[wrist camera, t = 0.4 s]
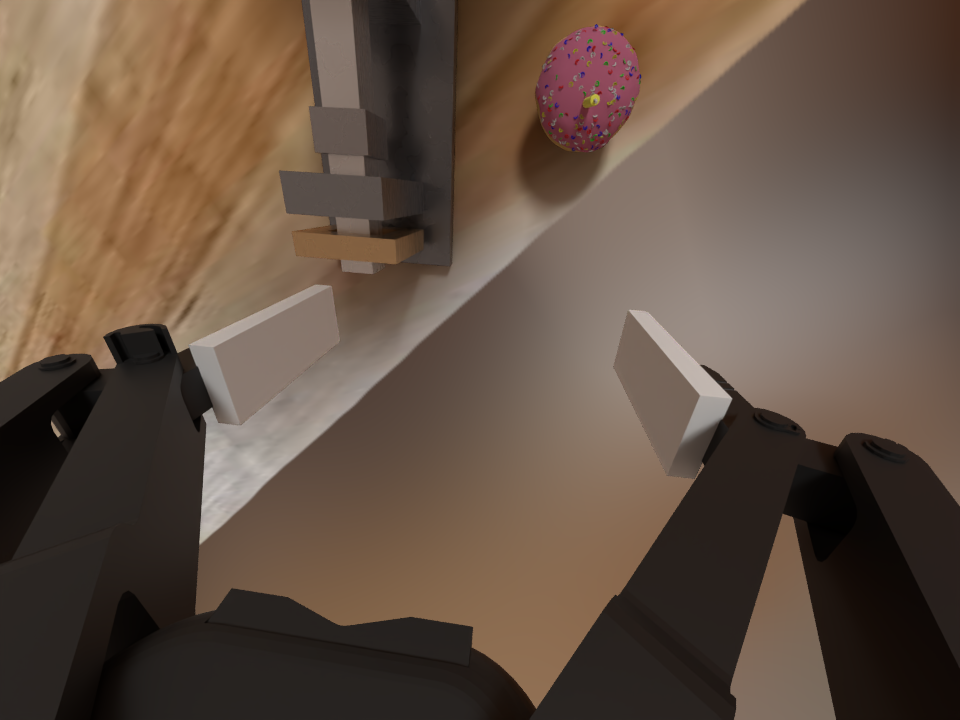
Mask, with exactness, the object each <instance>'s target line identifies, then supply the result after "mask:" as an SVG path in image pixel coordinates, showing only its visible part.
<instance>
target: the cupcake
mask: <svg viewBox="0 0 960 720" xmlns="http://www.w3.org/2000/svg"><path fill="white" fill-rule="evenodd" d="M622 35H623V33H621V34H620V33H619V32H617V31H615V30H613V28H611V29H610V28H609V27H607V26H605V27H604V26H598V25H597V24H596V25H595V26H592V27H586V28H582V29H579V30H577V31H575V32H573V33H571V34H570V35H568V36H566V37H565V38H563V39H562V40H560V41H559V42H558V43H557V44H555V46H554V47H553V48H552V49H551V51H550V53H549V55H548V57H547V59H546V62H545V64H543V66H542V68H543V70H542V72H541V75H540V78H539V80H538V83H537V86H536V91H535V98H536V105H537V111H538V115H539V119H540V122H541V125H542V128H543V130H544V132H545V133H546V135H547V136H548V138H549V139H550V140H551V141H552V142H553V143H554V144H556V145H557V146H559V147H561V148H562V149H564V150H566V151H572V152H592V151H595V150H597V149H600V148H602V147H603V146H604V145H606V144H607V143H608V141H609V140H610V139H611V138H612V137H613V136H614V135H615V134H616V133H617V132H618V131H619V130H620V128H621V127H622V126H623V125H624V124H625V122H626V121H627V119H628V118H629V116H630V114H631V112H632V109H633V106H634V103H635V100H636V99H637V98H638V97H637V96H638V94H639V88H640V79H641V74H639V66H638V59H637V55H636V53H635V51H634V50H635V49H634V48H633V47H631V45H630V44H629V43H628V41H627V40H626V39H625V37H624V36H622Z"/></svg>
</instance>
